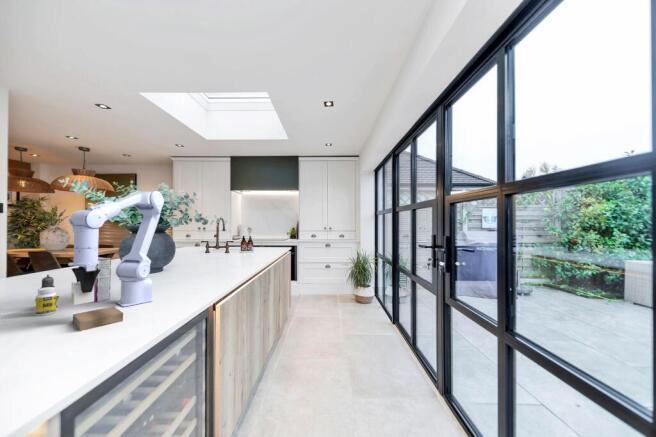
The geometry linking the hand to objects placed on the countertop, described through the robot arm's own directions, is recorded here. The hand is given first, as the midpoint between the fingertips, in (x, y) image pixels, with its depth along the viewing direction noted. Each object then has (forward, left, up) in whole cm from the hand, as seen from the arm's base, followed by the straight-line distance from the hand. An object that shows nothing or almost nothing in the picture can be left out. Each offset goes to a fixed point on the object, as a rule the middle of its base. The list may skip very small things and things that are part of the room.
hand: (85, 290), depth 84 cm
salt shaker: (+6, -24, -9) cm, 26 cm away
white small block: (+1, 0, -3) cm, 3 cm away
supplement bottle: (+7, -17, -9) cm, 21 cm away
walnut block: (-2, +5, -10) cm, 11 cm away
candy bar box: (-7, -25, -9) cm, 28 cm away
